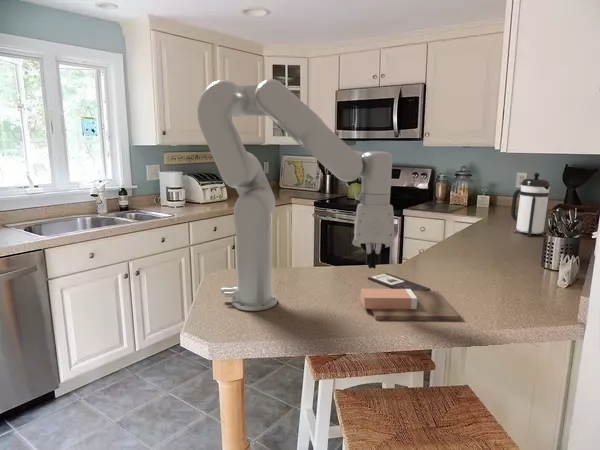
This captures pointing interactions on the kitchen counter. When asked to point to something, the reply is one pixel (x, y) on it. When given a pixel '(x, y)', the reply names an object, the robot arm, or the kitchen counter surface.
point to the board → (421, 309)
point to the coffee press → (531, 205)
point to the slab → (388, 299)
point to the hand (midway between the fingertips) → (371, 266)
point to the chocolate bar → (397, 282)
